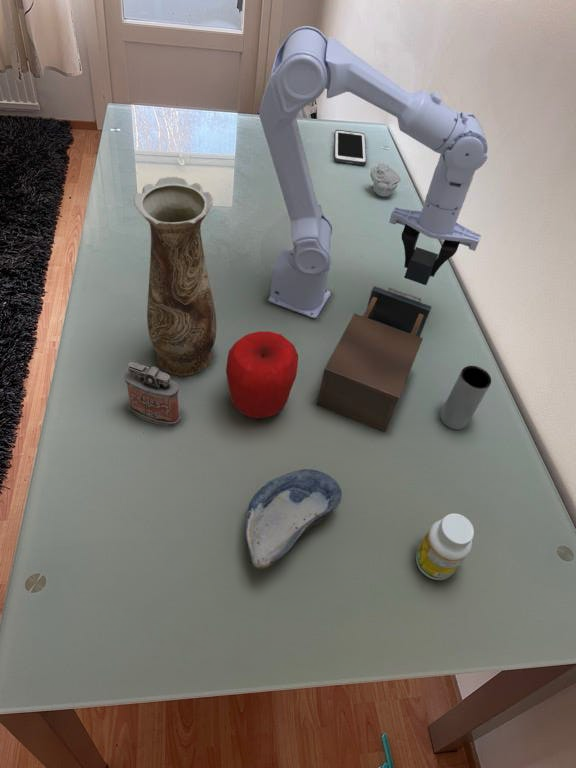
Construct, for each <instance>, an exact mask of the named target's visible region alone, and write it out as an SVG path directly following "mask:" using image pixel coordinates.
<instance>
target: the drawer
mask: <svg viewBox="0 0 576 768" xmlns="http://www.w3.org/2000/svg"><path fill="white" fill-rule="evenodd" d="M421 301H422V298H420V297H417V296H414V295H412V294H408V293H406V292H403V291H400V290H397V289H394V288H391V287H388V290H386V289H384V288H381V287H379V286H376V285H373V287H372V289H371V292H370V296H369V299H368V303H367V306H366V310H365V312H364V313H363V315H362V316H364V317H366V318H369V319H372V320H375V321H377V322H380V323H383V324H385V325H388V326H391V327H394V328H396V329H399V330H402V331H405V332H407V333H410V334H413V335H415V336H418V337H421V336H422V332H423V331H424V328H425V326H426V323H427V320H428V318H429V315H430V313H431V310H432V306H431V305H429V304H426V303H423V302H421Z"/></svg>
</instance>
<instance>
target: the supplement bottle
mask: <svg viewBox="0 0 576 768" xmlns="http://www.w3.org/2000/svg"><path fill="white" fill-rule="evenodd" d="M474 536H475V528H474V525H473V524H472V522H471V521H470V520H469V519H468V518H467V517H466V516H464V515H462V514H460V513H449V514H447V515H445V516H444V517H443V518H442V519H438V520H436V521H435V522H434V523H433V524H432V525H431V527H430V528H429V530H428V531H427V533H426V534H425V536H424V538H423V539H422V540H421V542H420V544H419V545H418V547H417V549H416V550H415V551H416V552H415V560H416V561H415V562H416V565H417V567H418V570H419V571H420V572H421V573H422V574H424V576H425V577H427V578H429V579H431V580H436V581H443V580H446V579H448V578H450V577H451V576H452V575H453V574H454V573H455V571H456V570H457V569H458V568H459V566H460V565H461V564H462V563H463V561H464V560H465V559H466V558H467V556H468V555H469V554H470V552H471V550H472V546H473V542H472V541H473V539H474Z"/></svg>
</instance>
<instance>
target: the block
mask: <svg viewBox="0 0 576 768" xmlns="http://www.w3.org/2000/svg"><path fill="white" fill-rule="evenodd" d="M438 255H439V253H436V252H433V251H430V250H427V249H424V248H421V247H418V246H415V250H414V252H413V255H412V257H411V259H410V262H409V265H408V268H406V271H405V274H404V277H403V278H404V279H406V280H410V281H412V282H414V283H418V284H421V285H423V286H427V285H428V283H429V280H430V278H431V276H430V275H431V272H432V269H433V267H434V264H435V262H436V260H437V258H438Z"/></svg>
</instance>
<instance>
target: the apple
mask: <svg viewBox="0 0 576 768" xmlns="http://www.w3.org/2000/svg"><path fill="white" fill-rule="evenodd" d="M298 364H299V354H298V352H297V349H296V347H295V345H294V344H293V343H292V342H291V341H290V340H288V339H287V338H286V337H285V336H284V335H282V333H277V332H273V331H256V332H251V333H248V334H245V335H244V336H242V337H241V338H240V339H238V340H237V341H235V342H234V343H233V345H232V346H231V348H230V349H229V350H228V353H227V358H226V365H225V366H226V368H225V374H226V379H227V385H228V390H229V395H230V399H231V402H232V404H233V407H234V408H235V409H237V411H239V412H240V413H241V414H243V415H246V416H248V417H250V418H255V419H256V418H258V419H265V418H268V417H272V416H275V415H277V414H278V413H280V412H282V411H283V409H284V407H285V406H286V403H287V402H288V399H289V396H290V393H291V391H292V388H293V385H294V382H295V380H296V378H297V374H298V373H297V372H298Z"/></svg>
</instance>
